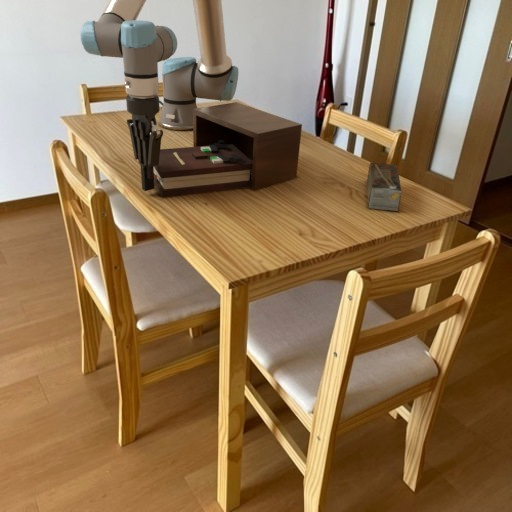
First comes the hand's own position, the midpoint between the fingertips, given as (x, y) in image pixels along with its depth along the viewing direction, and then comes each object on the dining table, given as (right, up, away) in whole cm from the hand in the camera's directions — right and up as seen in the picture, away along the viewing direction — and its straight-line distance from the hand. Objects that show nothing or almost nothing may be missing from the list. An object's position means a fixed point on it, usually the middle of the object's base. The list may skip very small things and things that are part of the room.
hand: (148, 188), depth 124 cm
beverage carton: (+62, -1, +8) cm, 63 cm away
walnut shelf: (+24, +9, +20) cm, 33 cm away
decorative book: (+12, +4, +11) cm, 16 cm away
